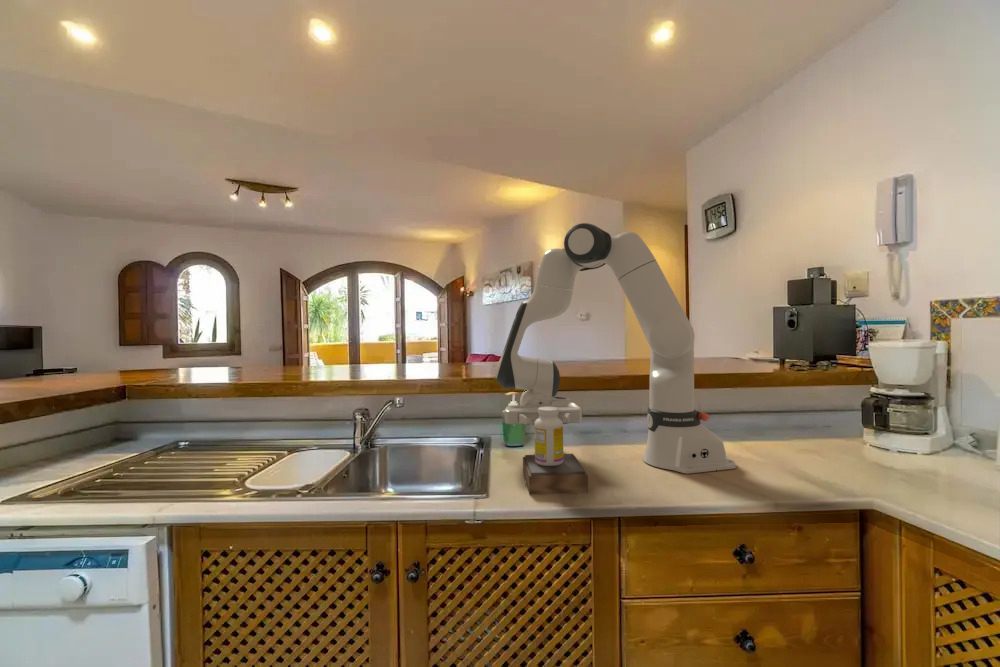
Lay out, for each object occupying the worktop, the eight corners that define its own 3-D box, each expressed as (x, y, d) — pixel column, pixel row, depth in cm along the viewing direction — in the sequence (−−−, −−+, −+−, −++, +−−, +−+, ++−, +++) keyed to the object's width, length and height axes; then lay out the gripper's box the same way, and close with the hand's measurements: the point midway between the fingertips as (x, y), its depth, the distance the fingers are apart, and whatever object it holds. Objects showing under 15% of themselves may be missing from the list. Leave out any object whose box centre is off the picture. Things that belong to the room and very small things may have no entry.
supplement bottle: (562, 458, 109) (562, 405, 109) (564, 467, 102) (563, 411, 102) (535, 458, 110) (534, 405, 109) (534, 467, 103) (533, 411, 103)
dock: (574, 471, 114) (574, 453, 113) (588, 492, 100) (587, 472, 99) (522, 472, 113) (522, 454, 113) (529, 494, 99) (529, 473, 99)
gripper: (501, 399, 125) (504, 409, 111) (574, 397, 126) (587, 407, 112) (501, 421, 125) (504, 434, 111) (574, 420, 126) (587, 433, 112)
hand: (546, 421), depth 112 cm, fingers open, 8 cm apart
